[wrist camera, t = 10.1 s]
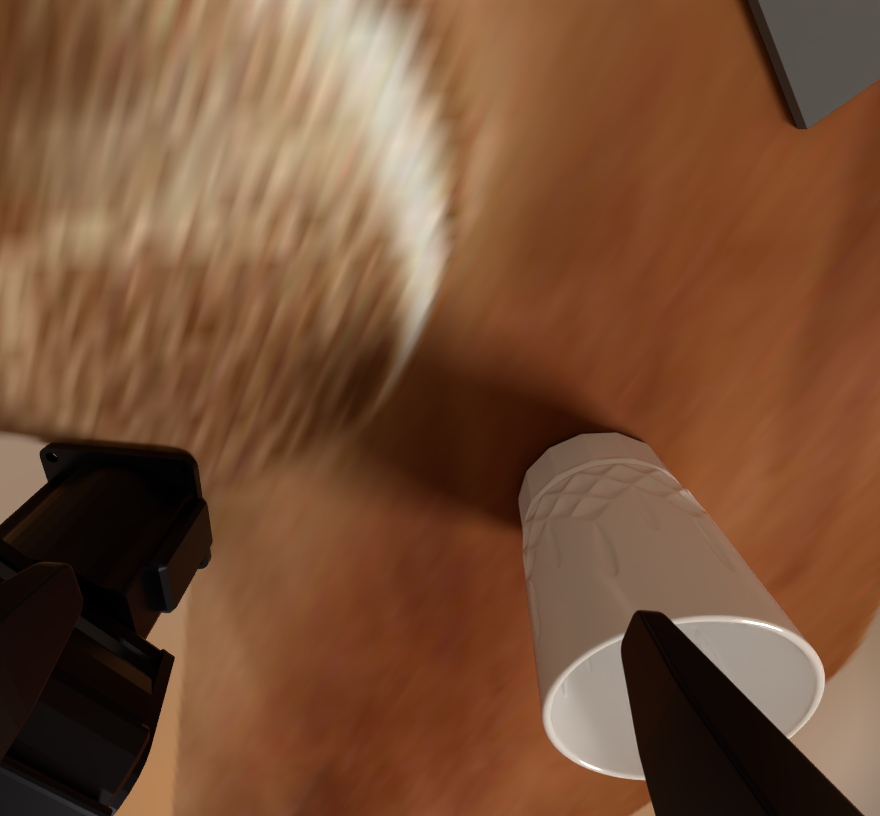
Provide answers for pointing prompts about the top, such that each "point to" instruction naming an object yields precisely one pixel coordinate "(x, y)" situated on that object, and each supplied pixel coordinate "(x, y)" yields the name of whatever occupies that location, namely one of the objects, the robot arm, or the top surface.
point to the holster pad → (820, 51)
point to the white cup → (641, 597)
